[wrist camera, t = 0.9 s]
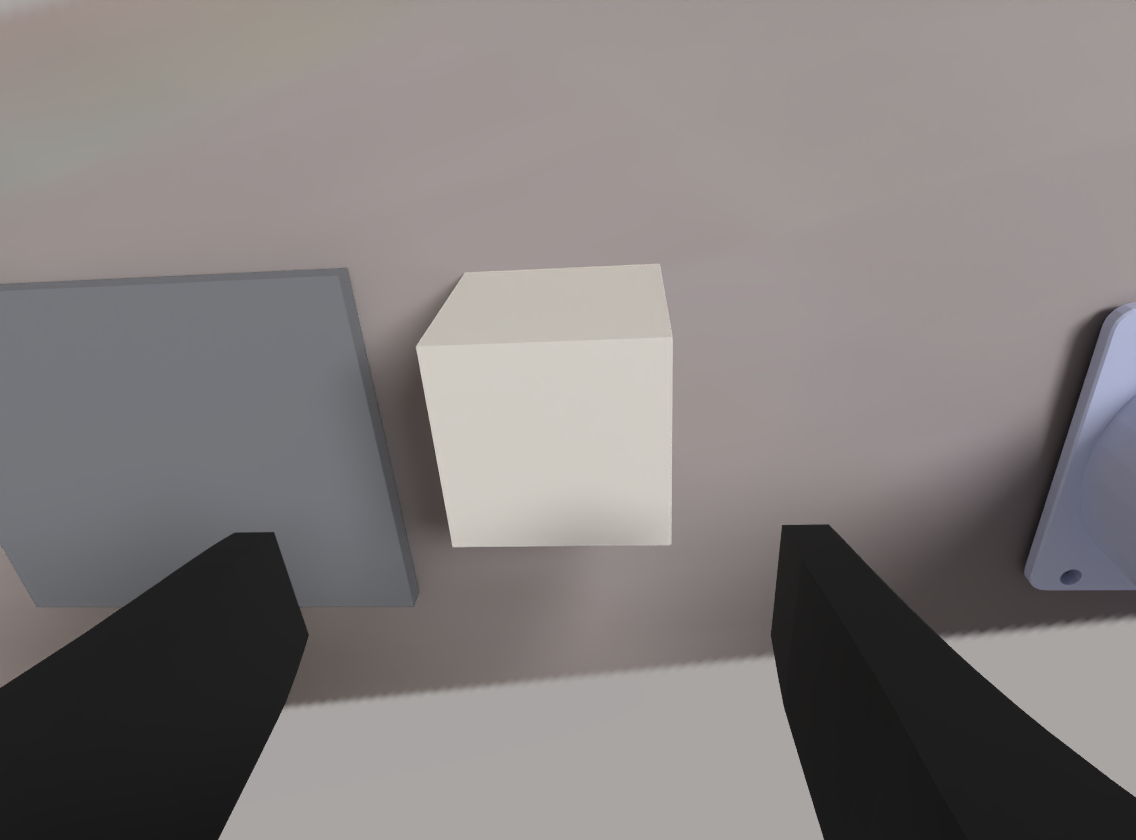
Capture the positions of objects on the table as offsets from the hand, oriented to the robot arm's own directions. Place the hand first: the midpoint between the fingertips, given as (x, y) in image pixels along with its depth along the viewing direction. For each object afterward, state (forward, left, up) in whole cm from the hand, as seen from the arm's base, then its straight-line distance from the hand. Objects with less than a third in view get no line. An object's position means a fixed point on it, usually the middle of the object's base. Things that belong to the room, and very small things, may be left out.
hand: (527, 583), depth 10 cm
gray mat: (+11, +3, -8) cm, 14 cm away
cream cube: (0, 0, -8) cm, 8 cm away
